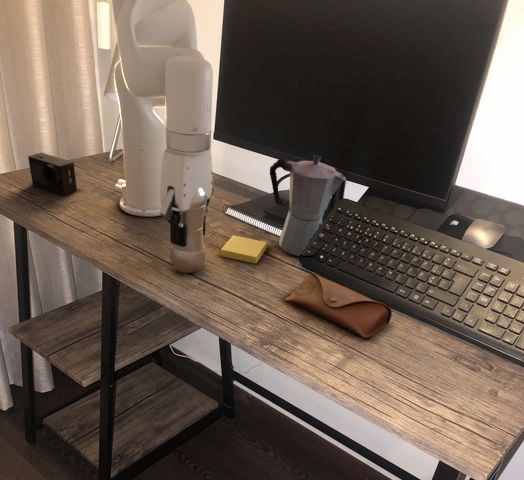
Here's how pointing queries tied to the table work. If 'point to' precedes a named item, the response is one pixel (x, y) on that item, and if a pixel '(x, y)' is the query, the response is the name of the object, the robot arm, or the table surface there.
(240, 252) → the sticky note pad
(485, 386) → the table surface
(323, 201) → the moka pot
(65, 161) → the digital camera
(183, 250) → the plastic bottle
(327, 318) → the sunglasses case
